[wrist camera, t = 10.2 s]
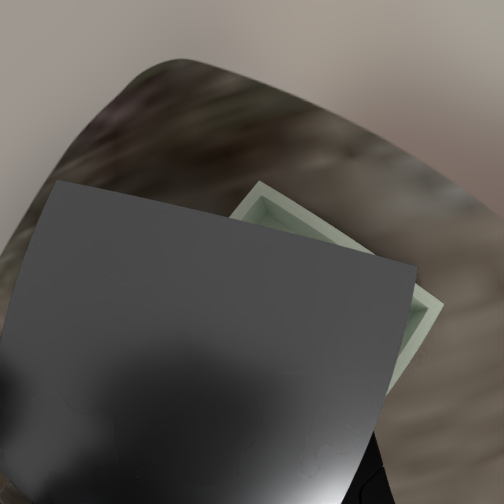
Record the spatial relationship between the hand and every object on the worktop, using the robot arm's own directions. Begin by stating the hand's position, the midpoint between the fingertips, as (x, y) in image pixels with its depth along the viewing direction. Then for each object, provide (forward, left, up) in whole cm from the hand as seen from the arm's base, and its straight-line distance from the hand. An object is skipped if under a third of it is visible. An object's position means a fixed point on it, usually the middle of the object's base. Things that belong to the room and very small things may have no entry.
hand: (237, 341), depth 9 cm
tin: (-1, 0, -7) cm, 7 cm away
